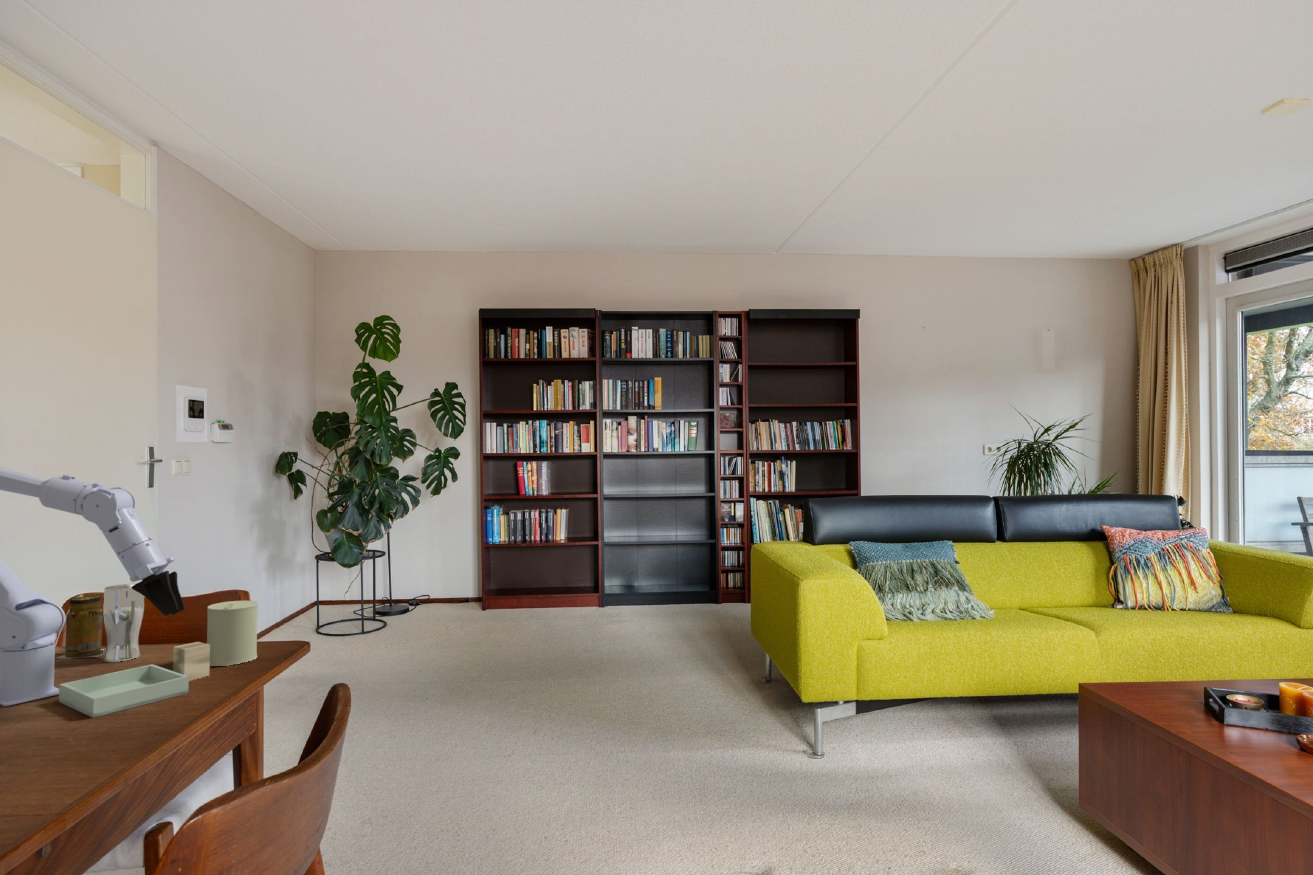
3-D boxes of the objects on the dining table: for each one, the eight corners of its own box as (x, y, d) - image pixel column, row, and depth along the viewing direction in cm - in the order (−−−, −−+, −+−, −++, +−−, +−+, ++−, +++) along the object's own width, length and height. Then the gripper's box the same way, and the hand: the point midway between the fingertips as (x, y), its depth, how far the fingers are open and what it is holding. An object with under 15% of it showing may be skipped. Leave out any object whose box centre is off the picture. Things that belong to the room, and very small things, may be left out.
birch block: (172, 678, 134) (173, 646, 134) (197, 672, 137) (198, 641, 137) (184, 682, 131) (185, 649, 131) (209, 676, 135) (210, 644, 135)
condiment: (78, 650, 153) (80, 594, 154) (119, 649, 154) (121, 594, 154) (53, 659, 146) (54, 601, 146) (96, 658, 147) (98, 600, 147)
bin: (58, 701, 120) (59, 684, 120) (151, 680, 132) (152, 664, 132) (93, 717, 113) (93, 698, 113) (188, 693, 125) (188, 676, 125)
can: (200, 668, 139) (202, 608, 140) (211, 656, 148) (212, 599, 148) (253, 664, 143) (254, 605, 143) (260, 652, 151) (261, 596, 152)
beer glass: (125, 663, 143) (127, 589, 144) (92, 663, 143) (94, 589, 144) (150, 653, 150) (152, 583, 151) (118, 653, 150) (120, 583, 151)
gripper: (152, 533, 122) (193, 599, 122) (166, 539, 134) (203, 599, 135) (106, 554, 118) (149, 623, 119) (125, 559, 131) (164, 621, 132)
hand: (175, 612), depth 127 cm, fingers open, 7 cm apart
